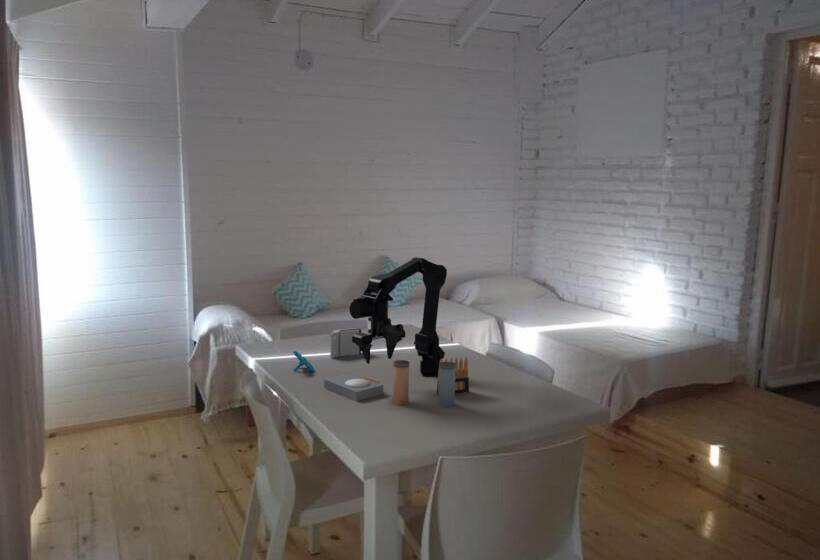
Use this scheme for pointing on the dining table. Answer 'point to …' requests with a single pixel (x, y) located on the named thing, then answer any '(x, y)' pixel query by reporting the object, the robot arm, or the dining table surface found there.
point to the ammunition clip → (458, 376)
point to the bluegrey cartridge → (447, 384)
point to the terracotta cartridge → (401, 382)
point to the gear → (302, 362)
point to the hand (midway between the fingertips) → (379, 361)
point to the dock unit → (354, 386)
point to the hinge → (343, 343)
